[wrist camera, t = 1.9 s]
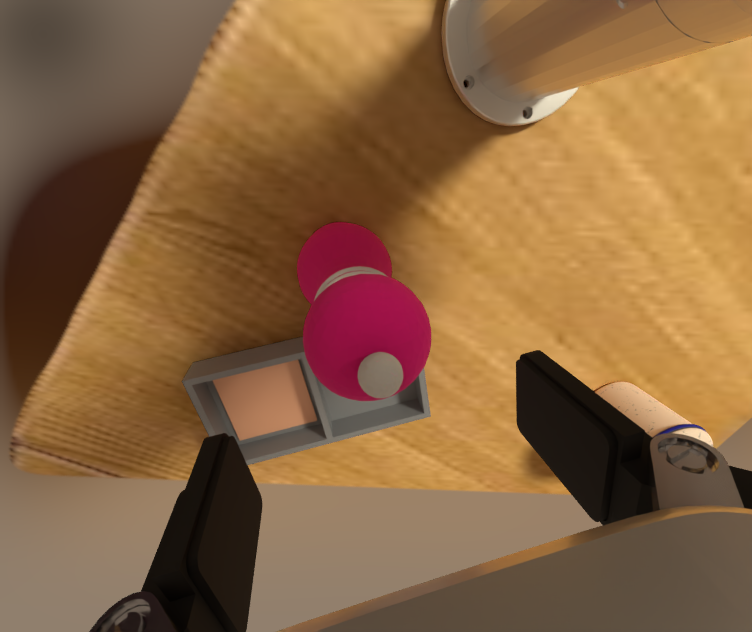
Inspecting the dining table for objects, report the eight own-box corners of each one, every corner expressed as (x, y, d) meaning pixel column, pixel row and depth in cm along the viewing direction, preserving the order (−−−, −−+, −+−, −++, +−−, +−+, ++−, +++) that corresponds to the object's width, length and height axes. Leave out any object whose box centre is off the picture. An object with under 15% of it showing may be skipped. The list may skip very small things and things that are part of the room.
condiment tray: (192, 362, 32) (181, 381, 29) (408, 311, 34) (417, 324, 31) (232, 447, 37) (226, 470, 34) (421, 398, 38) (430, 416, 36)
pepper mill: (303, 299, 32) (295, 476, 14) (293, 217, 29) (268, 304, 11) (380, 292, 33) (470, 448, 15) (379, 213, 30) (488, 285, 12)
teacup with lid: (579, 386, 42) (669, 460, 32) (646, 372, 43) (755, 438, 33) (568, 459, 47) (643, 544, 36) (628, 444, 48) (718, 523, 37)
